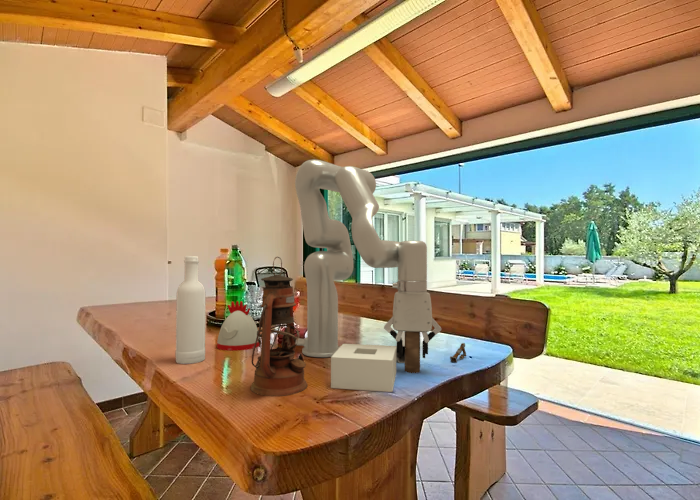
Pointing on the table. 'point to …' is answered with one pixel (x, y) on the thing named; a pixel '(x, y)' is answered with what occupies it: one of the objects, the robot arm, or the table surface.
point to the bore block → (364, 367)
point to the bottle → (190, 316)
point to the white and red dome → (238, 330)
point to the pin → (412, 352)
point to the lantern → (278, 364)
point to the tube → (402, 359)
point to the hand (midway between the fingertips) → (412, 355)
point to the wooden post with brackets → (454, 358)
